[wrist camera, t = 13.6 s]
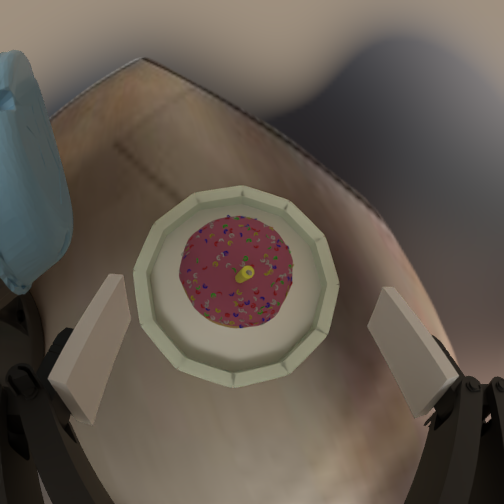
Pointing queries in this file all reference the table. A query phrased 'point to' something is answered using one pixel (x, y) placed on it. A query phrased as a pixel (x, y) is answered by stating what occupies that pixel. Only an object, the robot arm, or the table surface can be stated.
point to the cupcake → (236, 271)
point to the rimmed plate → (224, 338)
